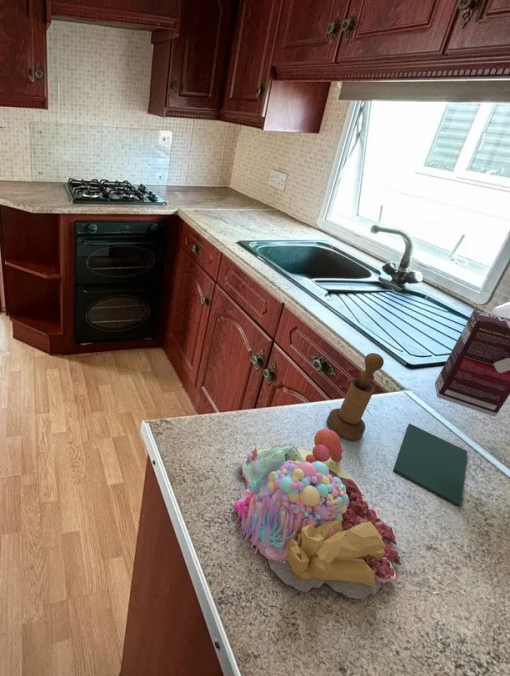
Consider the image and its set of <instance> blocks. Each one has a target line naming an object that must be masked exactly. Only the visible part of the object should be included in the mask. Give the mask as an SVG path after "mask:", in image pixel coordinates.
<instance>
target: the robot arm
mask: <svg viewBox="0 0 510 676" xmlns="http://www.w3.org/2000/svg"><path fill="white" fill-rule="evenodd" d="M490 314H492V315H496V316H500V317H504V318H508V319H510V302H506V303H504V304H501V305H498V306H496V307H495V308H493V309H492V310H491V311H490ZM491 363H492V364H493V366H494V368H495V369H496V370H497V371H498V372H499V373H503V372H506V371H509V370H510V358H504V357H503V356H501V357H498V358H497V359H492V360H491Z"/></svg>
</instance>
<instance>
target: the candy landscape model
mask: <svg viewBox="0 0 510 676" xmlns="http://www.w3.org/2000/svg"><path fill="white" fill-rule="evenodd" d="M313 442H314V445H315V446H314V447H313V448H312V451H311V450H310V449H309V450H308V449H303V448H302V449H301V448H296V446H295V445H293V444H292V443H286V444H276V445H273V446H272V447H266V448H259V449H257V446H255V447H254V450H252V452H251V454H250V455H248V456H247V457H246V458H245V459H244V460H243V462H242V466H241V474H242V477H243V479H244V480H245V483H246V486H245V489H244V491H242V492H241V495H240V497H239V498H238V499H237V502H235V503H234V504H233V511H235V513H237V514H238V516H237V522H239V520H240V518H241V521H240V525H241V527H240V528H241V529H242V530H241V532H240V535H241V536H245V539H244V542H245V543H246V542H247V540H248V539H249V543H251V545H250V549H253V547H254V546H255V547H256V548H255V551H254V553H253V554H254V555H256V554H257V553H258V551H259V554H262V556H264V557H265V558H266V559H267V563H268V564H269V567H270V569H271V570H272V572H273V573H275V575H276V576H277V577H278V578H279V579H280V580H281V581H282V582H283V583H284V584H285V585H287V586H292V587H293V588H294V589H295V590H297V591H299V592H304V593H307V592H309V591H310V590H311V589H312V588H315V589H321V587H322V586H323V585H324V584H326V585H328V586H329V587H330V588H331V589H332V590H333V591H334V592H337V593H341V594H343V596H345V597H347V598H350V599H351V598H352V599H356V600H362V601H364V600H365V599H366V598H367V597H368V595H376V594H377V592H378V591H379V589H381V588H382V584H386V583H393V582H395V579H396V578H397V573H396V571H395V568H394V566H393V564H396V565H398V566H401V561H400V557H399V554H398V551H397V550H396V548H394V547H393V545H392V544H394V545H395V546H398V544H397V540H396V537H395V534H394V531H393V528H392V526H388V525H387V524H386V523H385V522H384V521H383V520H382V518H381V516H380V514H379V512H377V510H375V509H374V508H372V507H371V506H370V505H369V504H368V502H366V501H365V499H366V498H365V492H364V491H363V489H362V488H361V487H360V485H359V484H358V482H357V481H356V480H355V479H354V478H353V477H352V476H351V475H350V473H349V472H348V471H347V470H346V468H345V467H343V466H342V465H341V462H342V460H343V453H344V448H343V446H342V442H341V438H340V437H339V436H338V435H337V434H336V433H335V432H334V431H332V430H330V429H329V428H322V429H319V430H318V431H317V432H316V433H315V435H314V437H313ZM391 543H392V544H391ZM392 563H393V564H392Z"/></svg>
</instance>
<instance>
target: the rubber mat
mask: <svg viewBox="0 0 510 676" xmlns="http://www.w3.org/2000/svg"><path fill="white" fill-rule="evenodd" d="M396 457H397V458H396V460H395V464H394V466H393V469H392V472H394V473H396V474H398V475H399V476H402V477H403V478H405V479H407V480H408V481H410V482H412V483H414V484H416V485H417V486H419V487H421V488H424V489H425V490H427V491H428V492H431V493H433V494H435V495H436V496H437V497H440V498H442V499H443V500H445V501H447V502H449V503H451V504H452V505H454V506H457V507H458V508H460V507H461V506H462V497H463V491H464V482H465V480H464V479H465V473H466V466H467V457H468V450H466V449H464V448H461V447H459V445H456V444H453V443H451V442H449V441H447V440H445V439H443V438H441V437H439V436H437V435H435V434H432V433H430V432H428V431H426V430H424V429H422V428H420V427H418V426H416V425H414V424H411V423H408V425H407V427H406V431H405V433H404V437H403V439H402V443H401V445H400V447H399V451H398V454H397V456H396Z"/></svg>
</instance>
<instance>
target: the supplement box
mask: <svg viewBox="0 0 510 676" xmlns="http://www.w3.org/2000/svg"><path fill="white" fill-rule="evenodd" d="M456 340H457V341H456V342H455V344H454V346H453V348H452V349H451V352H450V354H449V356H448V357H447V359H446V361H445V363H444V365H443V367H442V369H441V370H440V372H439V374H438V376H437V378H436V380H435V382H434V386H435V392H436V396H437V398H439V399H442V400H445V401H447V402H450V403H453V404H456V405H459V406H462V407H465V408H468V409H471V410H474V411H476V412H480V413H483V414H484V415H485V414H486V415H488V416H491V417H496V416H497V415H498V413H499V412H500V411H501V409H502V407H503V406H504V404H505V403H506V401H507V399H508V398H509V396H510V370H509V371H506V372H503V373H499V372H498V371H497V370H496V369H495V368H494V366H493V364H492V363H491V360H492V359H497V358H498V357H501V356H503V357H504V358H510V319H508V318H504V317H500V316H496V315H492V314H491V313H488V312H484V311H480V310H477V309H473V311H472V313H470V316H469V318H468V319H467V321H466V324H465V325H464V327H463V329H462V331H461V333H460V335H459V336H458V339H456Z"/></svg>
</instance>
